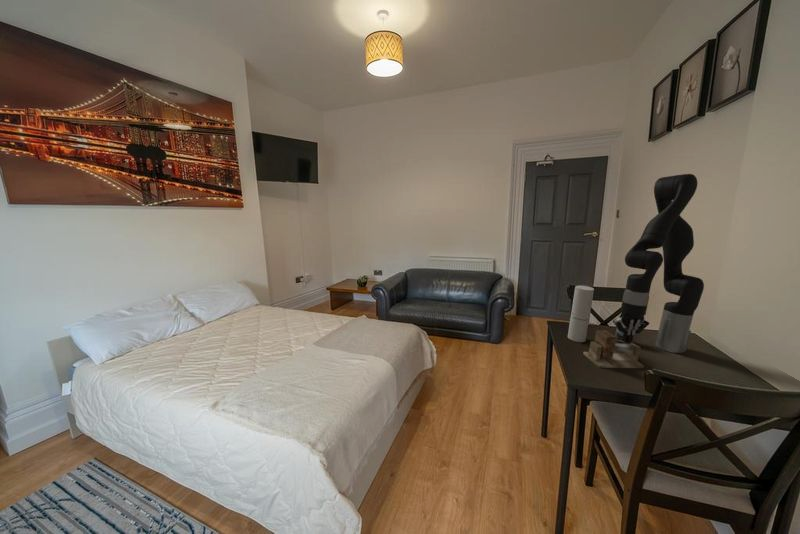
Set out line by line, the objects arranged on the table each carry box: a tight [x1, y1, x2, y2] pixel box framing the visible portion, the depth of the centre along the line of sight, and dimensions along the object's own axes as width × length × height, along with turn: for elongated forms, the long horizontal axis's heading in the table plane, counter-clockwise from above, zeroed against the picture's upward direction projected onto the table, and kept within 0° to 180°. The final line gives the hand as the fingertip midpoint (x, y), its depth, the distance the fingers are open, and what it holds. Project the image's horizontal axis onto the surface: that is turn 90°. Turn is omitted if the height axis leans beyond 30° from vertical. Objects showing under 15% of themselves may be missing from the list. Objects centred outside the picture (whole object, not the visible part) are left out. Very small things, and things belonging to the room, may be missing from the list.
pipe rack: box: [582, 341, 645, 369], centre depth 113 cm, size 17×10×7 cm, turn 89°
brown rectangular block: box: [594, 329, 617, 359], centre depth 112 cm, size 4×6×10 cm, turn 179°
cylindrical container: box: [567, 285, 595, 343], centre depth 129 cm, size 7×7×25 cm
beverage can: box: [614, 316, 626, 344], centre depth 128 cm, size 6×7×12 cm
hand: (626, 342), depth 112 cm, fingers closed
